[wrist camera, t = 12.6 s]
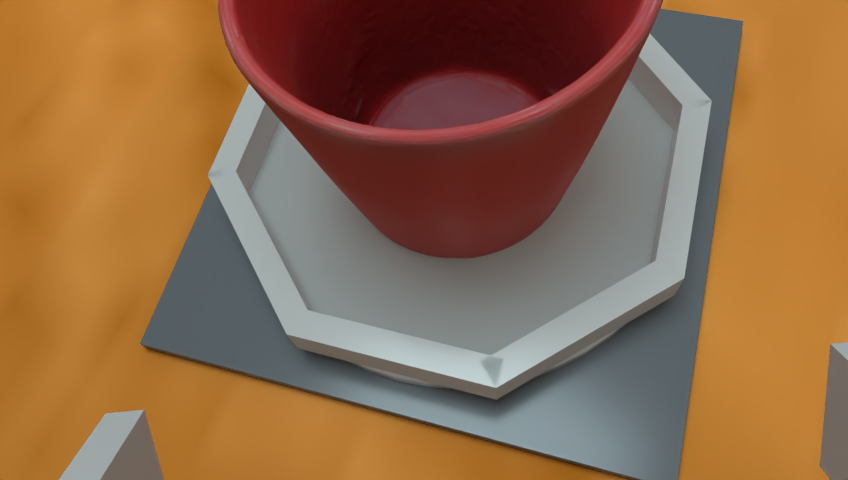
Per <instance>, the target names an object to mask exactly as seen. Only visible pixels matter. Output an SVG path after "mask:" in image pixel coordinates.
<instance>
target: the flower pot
mask: <svg viewBox="0 0 848 480" xmlns="http://www.w3.org/2000/svg"><path fill="white" fill-rule="evenodd" d="M662 2H663V0H219V4H218V10H219V19H220V24H221V28H222V32H223V36H224V39H225V42H226V45H227V47H228V49H229V52H230V54H231V56H232V58H233V60H234V62H235V64H236V65H237V67H238V68H239V70H240V71H241V73H242V74H243V75H244V77H245V78H246V79H247V81H248V82H249V83H250V85H251V86H252V87H253V89H254V90H255V91H256V92H257V94H258V95H259V96H260V97H261V98H262V100H263V101H264V102H265V103H266V104H267V105H268V107H269V108H270V109H271V110H272V111H273V113H274V114H275V115H276V116H277V117H278V118H279V120H280V121H281V122H282V123H283V124H284V125H285V126H286V128H287V129H288V130H289V131H290V132H291V133H292V134H293V136H294V137H295V138H296V139H297V140H298V141H299V143H300V144H301V145H302V146H303V147H304V149H305V150H306V151H307V152H308V153H309V154H310V156H311V157H312V158H313V159H314V160H315V162H316V163H317V164H318V165H319V166H320V168H321V169H322V170H323V171H324V172H325V173H326V174H327V176H328V177H329V178H330V179H331V180H332V181H333V182H334V183H335V185H336V186H337V187H338V188H339V189H340V190H341V191H342V192H343V193H344V194H345V195H346V197H347V198H348V199H349V200H350V201H351V202H352V203H353V204H354V205H355V206H356V207H357V208H358V209H359V210H360V211H361V213H362V214H363V215H364V216H365V217H366V218H367V219H368V220H369V221H370V222H371V223H372V224H373V225H374V226H375V227H376V228H377V229H378V230H379V231H380V232H381V233H383V234H384V235H385V236H386V237H388V238H389V239H391V240H392V241H394V242H395V243H397V244H399V245H401V246H403V247H405V248H407V249H410V250H412V251H415V252H418V253H421V254H424V255H429V256H434V257H442V258H475V257H480V256H485V255H488V254H492V253H495V252H498V251H501V250H504V249H506V248H508V247H510V246H513V245H515V244H516V243H518V242H520V241H522V240H523V239H525V238H526V237H528V236H529V235H530V234H532V233H533V232H534V231H535V230H537V229H538V228H539V227H540V226H541V225H542V224H543V223H544V222H545V221H546V220H547V219H548V218H549V217H550V215H551V214H552V213H553V211H554V210H555V209H556V207H557V206H558V204H559V202H560V201H561V199H562V197H563V195H564V194H565V192H566V191H567V189H568V187H569V186H570V184H571V182H572V181H573V179H574V177H575V176H576V174H577V172H578V171H579V169H580V168H581V166H582V164H583V162H584V161H585V159H586V157H587V155H588V154H589V152H590V150H591V148H592V146H593V145H594V143H595V141H596V139H597V137H598V136H599V134H600V132H601V129H602V128H603V126H604V124H605V122H606V120H607V118H608V116H609V114H610V112H611V110H612V108H613V107H614V105H615V103H616V101H617V99H618V97H619V95H620V93H621V91H622V89H623V87H624V85H625V83H626V81H627V79H628V78H629V76H630V73H631V71H632V69H633V67H634V65H635V63H636V61H637V59H638V57H639V54H640V52H641V50H642V48H643V46H644V44H645V42H646V40H647V38H648V36H649V34H650V32H651V29H652V27H653V25H654V22H655V20H656V18H657V15H658V13H659V11H660V8H661V5H662Z"/></svg>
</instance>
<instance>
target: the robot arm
mask: <svg viewBox="0 0 848 480" xmlns="http://www.w3.org/2000/svg"><path fill="white" fill-rule="evenodd" d="M820 467H821V468H822V469H823V471H824V472H825V473H826V474H827V476H828V477H829V478H830V480H848V342H846V343H836V344H830V355H829V367H828V378H827V390H826V401H825V413H824V424H823V435H822V447H821V458H820ZM59 480H164V478H163V475H162V471H161V468H160V464H159V461H158V457H157V454H156V450H155V447H154V443H153V440H152V436H151V432H150V429H149V425H148V422H147V418H146V415H145V411H144V410H138V411H127V412H117V413H106V414H105V415H104V417H103V418H102V419H101V421H100V422H99V424H98V425H97V426H96V428H95V429H94V431H93V432H92V433H91V435H90V436H89V438H88V439H87V441H86V442H85V443H84V445H83V446H82V448H81V449H80V450H79V452H78V453H77V455H76V456H75V457H74V459H73V460H72V462H71V463H70V464H69V466H68V467H67V469H66V470H65V472H64V473H63V474H62V476H61V477H60V479H59Z"/></svg>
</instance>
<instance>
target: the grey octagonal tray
mask: <svg viewBox="0 0 848 480" xmlns="http://www.w3.org/2000/svg"><path fill="white" fill-rule="evenodd" d="M742 25H743V21H738V20H732V19H725V18H718V17H711V16H705V15H698V14H691V13H684V12H678V11H671V10H664V9H660V11H659V13H658V15H657V18H656V20H655V22H654V25H653V27H652V29H651V32H650V34H649V36H648V38H647V40H646V42H645V44H644V46H643V48H642V50H641V52H640V54H639V57H638V59H637V61H636V63H635V65H634V67H633V69H632V71H631V73H630V76H629V78H628V79H627V81H626V83H625V85H624V87H623V89H622V91H621V93H620V95H619V97H618V99H617V101H616V103H615V105H614V107H613V108H612V110H611V112H610V114H609V116H608V118H607V120H606V122H605V124H604V126H603V128H602V129H601V132H600V134H599V136H598V137H597V139H596V141H595V143H594V145H593V146H592V148H591V150H590V152H589V154H588V155H587V157H586V159H585V161H584V162H583V164H582V166H581V168H580V169H579V171H578V172H577V174H576V176H575V177H574V179H573V181H572V182H571V184H570V186H569V187H568V189H567V191H566V192H565V194H564V195H563V197H562V199H561V201H560V202H559V204H558V206H557V207H556V209H555V210H554V211H553V213H552V214H551V215H550V217H549V218H548V219H547V220H546V221H545V222H544V223H543V224H542V225H541V226H540V227H539V228H538V229H537V230H535V231H534V232H533V233H532V234H530V235H529V236H528V237H526V238H525V239H523V240H522V241H520V242H518V243H516V244H515V245H513V246H510V247H508V248H506V249H504V250H501V251H498V252H495V253H492V254H488V255H485V256H480V257H475V258H442V257H434V256H429V255H424V254H421V253H418V252H415V251H412V250H410V249H407V248H405V247H403V246H401V245H399V244H397V243H395V242H394V241H392V240H391V239H389V238H388V237H386V236H385V235H384V234H383V233H381V232H380V231H379V230H378V229H377V228H376V227H375V226H374V225H373V224H372V223H371V222H370V221H369V220H368V219H367V218H366V217H365V216H364V215H363V214H362V213H361V211H360V210H359V209H358V208H357V207H356V206H355V205H354V204H353V203H352V202H351V201H350V200H349V199H348V198H347V197H346V195H345V194H344V193H343V192H342V191H341V190H340V189H339V188H338V187H337V186H336V185H335V183H334V182H333V181H332V180H331V179H330V178H329V177H328V176H327V174H326V173H325V172H324V171H323V170H322V169H321V168H320V166H319V165H318V164H317V163H316V162H315V160H314V159H313V158H312V157H311V156H310V154H309V153H308V152H307V151H306V150H305V149H304V147H303V146H302V145H301V144H300V143H299V141H298V140H297V139H296V138H295V137H294V136H293V134H292V133H291V132H290V131H289V130H288V129H287V128H286V126H285V125H284V124H283V123H282V122H281V121H280V120H279V118H278V117H277V116H276V115H275V114H274V113H273V111H272V110H271V109H270V108H269V107H268V105H267V104H266V103H265V102H264V101H263V100H262V98H261V97H260V96H259V95H258V94H257V92H256V91H255V90H254V89H253V87H252V86H251V85H250V83H249V85H248V88H247V90H246V92H245V94H244V96H243V99H242V101H241V103H240V105H239V107H238V110H237V112H236V114H235V116H234V118H233V121H232V123H231V125H230V127H229V130H228V132H227V134H226V136H225V138H224V141H223V143H222V145H221V147H220V149H219V152H218V154H217V156H216V158H215V160H214V163H213V165H212V167H211V169H210V172H209V174H208V177H209V179H210V181H211V183H212V184H211V187H210V189H209V191H208V193H207V195H206V198H205V200H204V202H203V204H202V207H201V209H200V211H199V213H198V216H197V218H196V220H195V222H194V225H193V227H192V229H191V231H190V233H189V236H188V238H187V240H186V242H185V245H184V247H183V249H182V251H181V254H180V256H179V258H178V260H177V262H176V265H175V267H174V269H173V271H172V274H171V276H170V278H169V280H168V283H167V285H166V287H165V289H164V291H163V294H162V296H161V298H160V300H159V303H158V305H157V307H156V309H155V312H154V314H153V316H152V318H151V321H150V323H149V325H148V327H147V329H146V332H145V334H144V336H143V338H142V341H141V343H140V344H141V345H142V346H144V347H145V348H148V349H151V350H155V351H159V352H162V353H166V354H170V355H173V356H177V357H181V358H185V359H188V360H192V361H196V362H199V363H203V364H207V365H210V366H214V367H218V368H221V369H225V370H229V371H232V372H236V373H240V374H244V375H247V376H251V377H255V378H258V379H262V380H266V381H269V382H273V383H277V384H280V385H284V386H288V387H291V388H295V389H299V390H303V391H306V392H310V393H314V394H317V395H321V396H325V397H328V398H332V399H336V400H339V401H343V402H347V403H350V404H354V405H358V406H361V407H365V408H369V409H373V410H376V411H380V412H384V413H387V414H391V415H395V416H398V417H402V418H406V419H409V420H413V421H417V422H420V423H424V424H428V425H432V426H435V427H439V428H443V429H446V430H450V431H454V432H457V433H461V434H465V435H468V436H472V437H476V438H479V439H483V440H487V441H491V442H494V443H498V444H502V445H505V446H509V447H513V448H516V449H520V450H524V451H527V452H531V453H535V454H538V455H542V456H546V457H550V458H553V459H557V460H561V461H564V462H568V463H572V464H575V465H579V466H583V467H586V468H590V469H594V470H597V471H601V472H605V473H608V474H612V475H616V476H620V477H623V478H627V479H631V480H678V474H679V467H680V460H681V453H682V446H683V439H684V432H685V425H686V418H687V411H688V404H689V397H690V390H691V383H692V376H693V369H694V362H695V355H696V348H697V341H698V334H699V327H700V320H701V313H702V305H703V298H704V291H705V284H706V277H707V270H708V263H709V256H710V249H711V242H712V235H713V228H714V221H715V214H716V207H717V200H718V193H719V186H720V179H721V172H722V165H723V158H724V151H725V144H726V137H727V130H728V123H729V116H730V109H731V102H732V95H733V88H734V81H735V74H736V67H737V60H738V53H739V46H740V39H741V32H742Z"/></svg>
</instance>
